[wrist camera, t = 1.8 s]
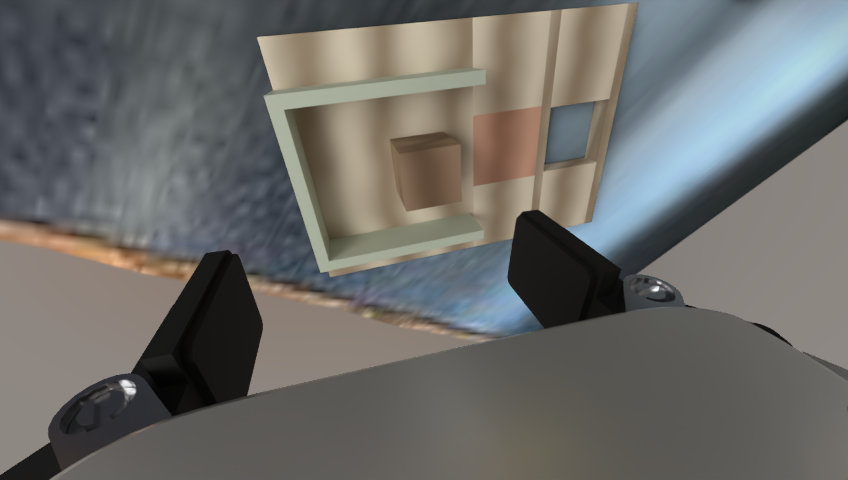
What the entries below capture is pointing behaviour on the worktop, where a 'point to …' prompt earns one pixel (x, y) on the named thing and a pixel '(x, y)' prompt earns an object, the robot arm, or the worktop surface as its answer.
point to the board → (458, 115)
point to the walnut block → (427, 170)
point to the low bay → (288, 136)
